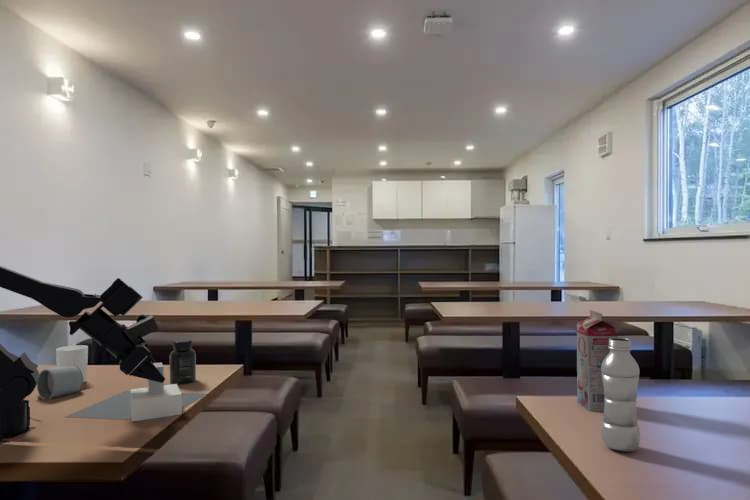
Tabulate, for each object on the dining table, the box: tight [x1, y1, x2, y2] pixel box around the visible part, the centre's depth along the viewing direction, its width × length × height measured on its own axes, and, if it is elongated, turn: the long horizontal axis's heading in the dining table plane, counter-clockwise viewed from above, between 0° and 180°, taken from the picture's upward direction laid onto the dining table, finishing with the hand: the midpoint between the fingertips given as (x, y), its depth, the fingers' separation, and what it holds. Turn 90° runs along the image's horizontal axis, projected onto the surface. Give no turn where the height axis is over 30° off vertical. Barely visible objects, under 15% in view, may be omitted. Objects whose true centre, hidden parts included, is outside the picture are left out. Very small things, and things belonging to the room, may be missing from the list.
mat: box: [65, 390, 208, 422], centre depth 120 cm, size 21×23×1 cm
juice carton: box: [576, 309, 618, 412], centre depth 118 cm, size 7×7×22 cm
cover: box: [129, 362, 183, 422], centre depth 115 cm, size 10×10×10 cm
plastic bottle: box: [600, 337, 641, 452], centre depth 92 cm, size 6×7×20 cm
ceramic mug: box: [36, 366, 84, 400], centre depth 131 cm, size 11×8×8 cm
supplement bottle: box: [169, 338, 197, 386], centre depth 142 cm, size 7×7×12 cm
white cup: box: [55, 344, 89, 384], centre depth 143 cm, size 8×8×10 cm
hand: (162, 376), depth 115 cm, fingers open, 9 cm apart
